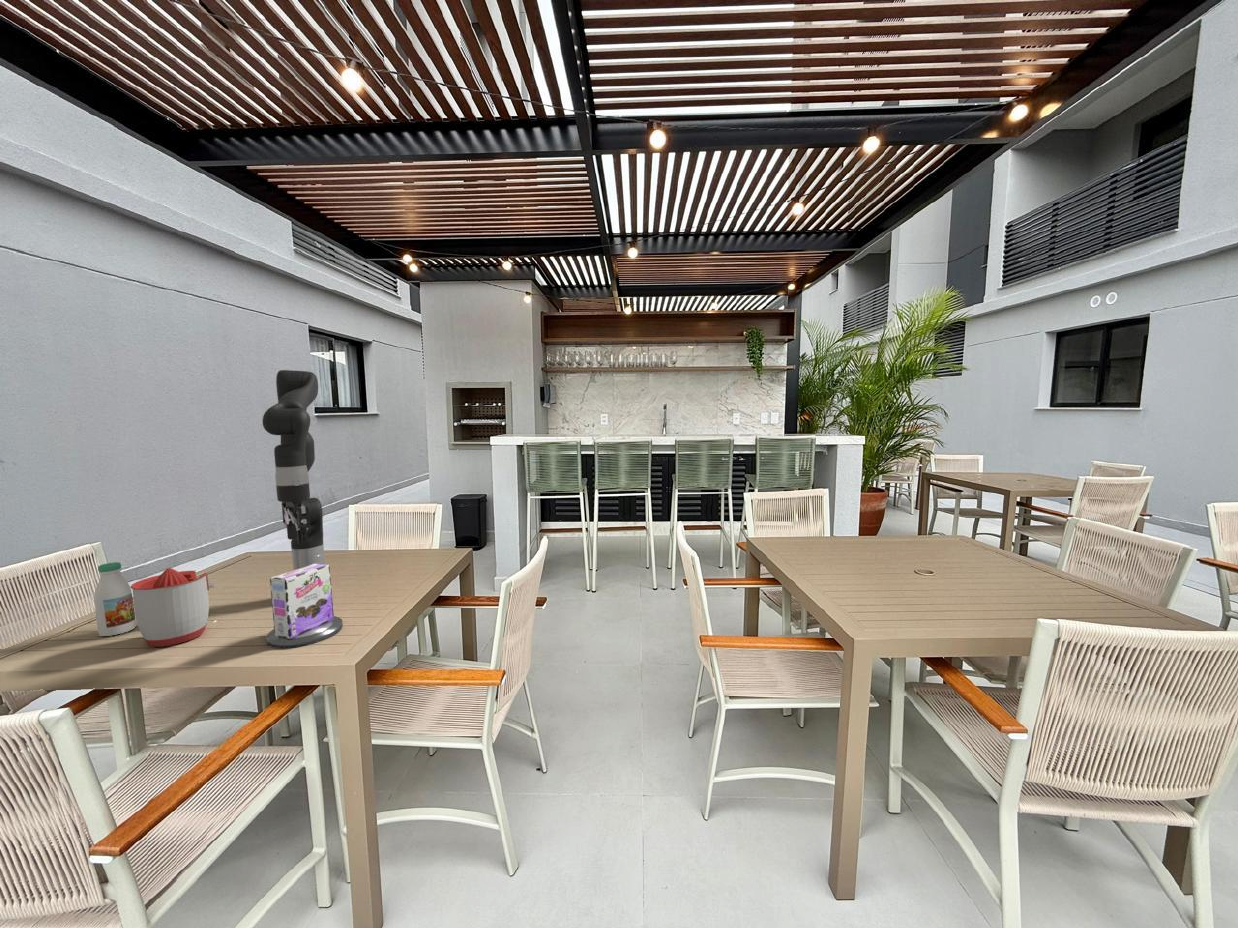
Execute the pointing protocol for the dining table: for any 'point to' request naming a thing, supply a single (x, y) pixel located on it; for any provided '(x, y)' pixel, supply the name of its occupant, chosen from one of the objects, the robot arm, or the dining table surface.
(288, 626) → the candy box
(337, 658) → the dining table surface
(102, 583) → the milk bottle
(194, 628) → the citrus juicer
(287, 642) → the metal plate
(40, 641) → the dining table surface
